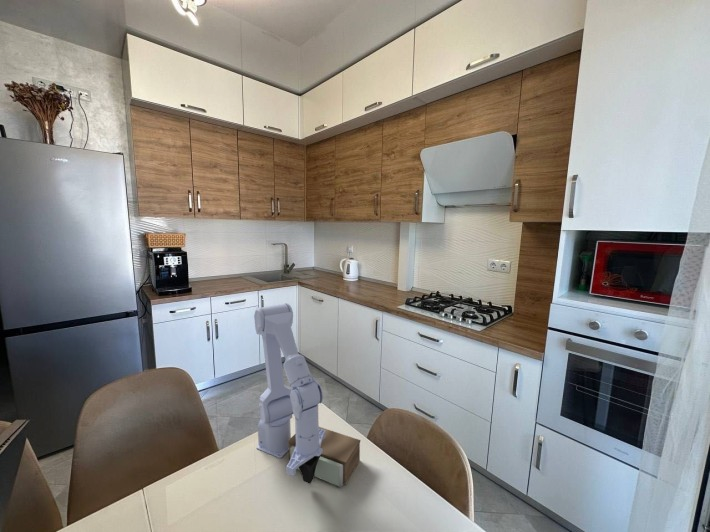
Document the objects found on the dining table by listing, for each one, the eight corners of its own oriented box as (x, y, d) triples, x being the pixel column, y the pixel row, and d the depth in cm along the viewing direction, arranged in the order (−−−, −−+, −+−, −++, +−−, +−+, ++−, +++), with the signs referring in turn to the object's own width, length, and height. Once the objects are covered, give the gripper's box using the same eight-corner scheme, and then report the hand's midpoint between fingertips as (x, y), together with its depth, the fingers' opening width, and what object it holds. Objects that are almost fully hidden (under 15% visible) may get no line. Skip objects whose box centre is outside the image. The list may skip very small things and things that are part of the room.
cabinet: (288, 461, 84) (288, 441, 83) (306, 441, 92) (306, 422, 91) (346, 485, 76) (345, 462, 75) (360, 460, 84) (360, 440, 83)
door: (343, 484, 76) (343, 464, 75) (340, 490, 74) (340, 470, 73) (293, 463, 82) (292, 445, 82) (288, 468, 81) (288, 450, 80)
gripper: (303, 455, 65) (305, 510, 66) (335, 417, 78) (335, 465, 79) (278, 445, 68) (280, 499, 69) (312, 411, 81) (313, 456, 82)
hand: (308, 480), depth 74 cm, fingers closed
